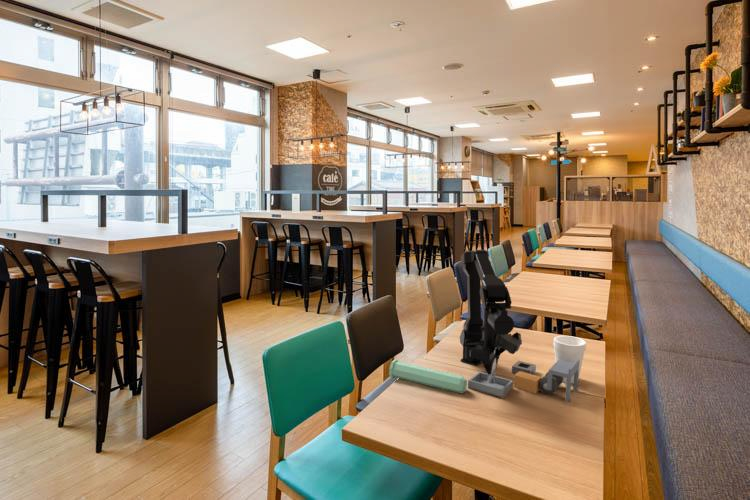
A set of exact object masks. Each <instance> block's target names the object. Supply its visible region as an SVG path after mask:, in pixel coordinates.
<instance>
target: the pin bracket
mask: <svg viewBox="0 0 750 500" xmlns="http://www.w3.org/2000/svg"><path fill="white" fill-rule="evenodd" d="M519 371H521V372H525V373H528V374H532V375H535V373H536V371H537V364H534V363H529V362H525V361H521V360H518V361H516V362H515V363H514V364H513V365H511V373H512V374H514V375H515V374H516V373H518V372H519Z"/></svg>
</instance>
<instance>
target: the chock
mask: <svg viewBox="0 0 750 500" xmlns="http://www.w3.org/2000/svg"><path fill="white" fill-rule="evenodd" d="M541 379H542V376H539V375H535V374H533V375H532V374H528V373H525V372H521V371H519V372H518V373H516V374H514V375H513V388H516V389H520V390H524V391H527V392H529V393H532V394H533V393H534V394H537V393H539V391H540V389H539V387H538V383H539V381H540V380H541Z"/></svg>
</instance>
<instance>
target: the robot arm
mask: <svg viewBox="0 0 750 500" xmlns="http://www.w3.org/2000/svg"><path fill="white" fill-rule="evenodd" d="M460 264H461V266H462V270H463V273H465V275H466V279H467V280H466V281H467V282H466V285H467V287H466V289H467V293H466V294H467V317H466V320H465V321H464V323H463V326H462V327H463V329H462V330H461V332H460V335H459V343H460V344H461V346H462V358H461V359H460V362H463V363H466V364H470V365H474V366H479V365H480V364H481V363H482V365H483V368H484V370H485V371H486V372H485V373H487V374H491V372H492V367H493V361H494V359H495V358H496V366H497V365H498V362H499V360H500V356H501V355H502V354H503V353H504V352H505V351H507V352H508V353H509V354H511V355H514V354H515V353H517V352H518V351H519V349H520V346H522V345H523V340H522V334H521V333H520V332H518V331H516V332H515V333H513V334H512V333H511V332H512V331H513V330H514V328H515V327H514V326H515V323H514V319H513V318H512V317H511V316H510V315H509V314H508V309H509V310H511V308H512V299H511V295H510V291H509V290H508V287H507V285H506V284H505V282H504V281H503V279H501V278H499V277H498V276H497V274H496V273H495V270H494V267H493V265H492V263H491V260H490V258H489V251H488V250H486V249H474V250H470V251H466V250H465V251H464V252H463V253H462V254H461V255H460ZM482 307H483V310H482ZM482 311H483V313H482ZM482 315H483V316H482ZM482 317H483V318H482Z"/></svg>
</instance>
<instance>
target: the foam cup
mask: <svg viewBox="0 0 750 500" xmlns="http://www.w3.org/2000/svg"><path fill="white" fill-rule="evenodd" d="M586 348H587V342H586V340H584V339H582V338H580V337H576V336H572V335H570V336H569V335H558V336H554V337H553V349H554V362H555V363H556V362H557V361H558V360H562V361H567V362H571V363H574V362H575V361H576V360H577V359H580V360H579V375H578V380H579V379H580V373H581V369H582V365H583V360H584V357H585V356H584V355H585V352H586V350H587V349H586ZM555 363H554V364H555ZM566 382H567V378H565V377H563V382H562V383H566ZM571 384H574V375H573V376H572V377H571Z"/></svg>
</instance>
